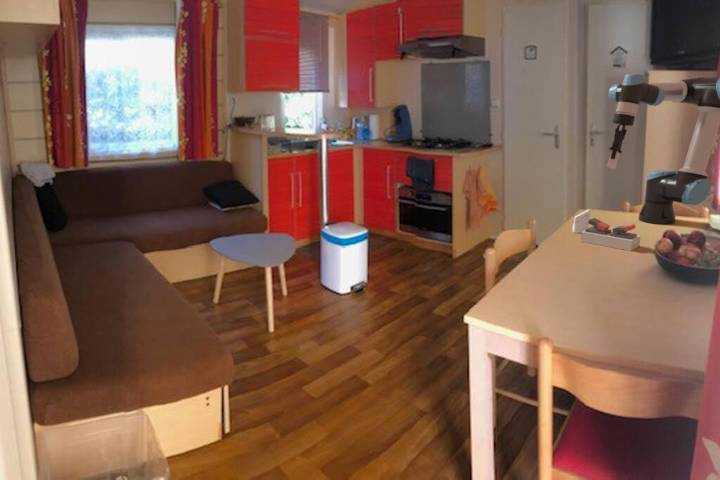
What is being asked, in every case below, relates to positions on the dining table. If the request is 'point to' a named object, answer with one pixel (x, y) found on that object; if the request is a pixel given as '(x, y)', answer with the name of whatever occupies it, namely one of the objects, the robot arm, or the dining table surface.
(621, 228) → the rocker
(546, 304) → the dining table surface
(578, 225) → the white wedge bracket
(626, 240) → the power strip
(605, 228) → the rocker
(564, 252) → the dining table surface
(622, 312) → the dining table surface
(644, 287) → the dining table surface
